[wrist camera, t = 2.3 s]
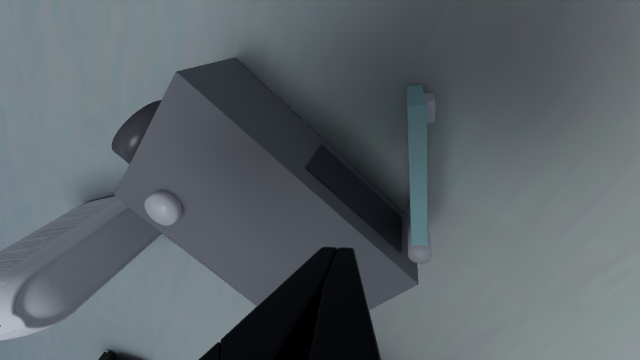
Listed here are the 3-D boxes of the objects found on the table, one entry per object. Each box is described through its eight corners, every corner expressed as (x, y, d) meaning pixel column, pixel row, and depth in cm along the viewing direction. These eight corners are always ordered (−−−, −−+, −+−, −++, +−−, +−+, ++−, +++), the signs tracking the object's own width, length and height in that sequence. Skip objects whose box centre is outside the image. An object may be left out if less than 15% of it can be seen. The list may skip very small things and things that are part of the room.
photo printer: (103, 236, 30) (-57, 353, 20) (77, 201, 29) (-114, 308, 18) (180, 226, 27) (35, 362, 16) (155, 184, 25) (-25, 306, 15)
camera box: (416, 222, 21) (420, 293, 15) (323, 283, 26) (302, 352, 20) (213, 35, 18) (133, 44, 13) (154, 145, 23) (80, 183, 18)
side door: (430, 215, 20) (436, 264, 16) (407, 215, 20) (408, 263, 16) (430, 83, 16) (438, 104, 12) (402, 86, 17) (402, 107, 13)
